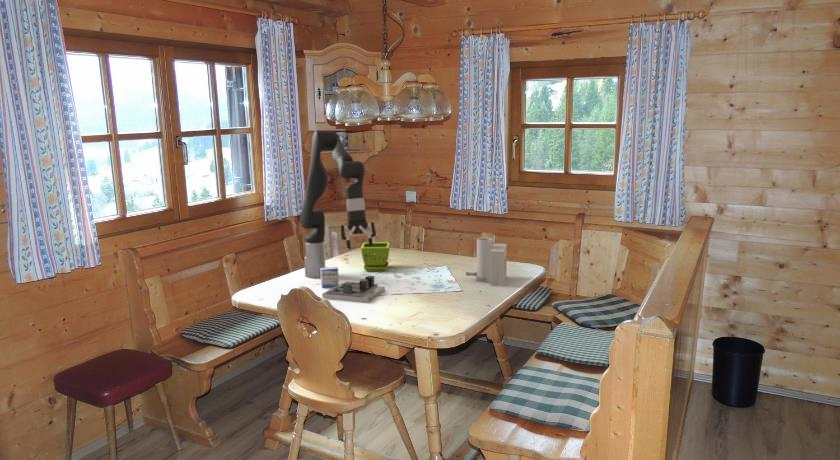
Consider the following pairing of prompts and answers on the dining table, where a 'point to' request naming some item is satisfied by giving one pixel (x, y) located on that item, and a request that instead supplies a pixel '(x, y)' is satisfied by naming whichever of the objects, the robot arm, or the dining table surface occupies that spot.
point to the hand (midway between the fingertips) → (360, 248)
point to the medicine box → (329, 277)
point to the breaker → (347, 287)
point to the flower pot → (375, 256)
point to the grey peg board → (356, 291)
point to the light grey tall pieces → (490, 262)
